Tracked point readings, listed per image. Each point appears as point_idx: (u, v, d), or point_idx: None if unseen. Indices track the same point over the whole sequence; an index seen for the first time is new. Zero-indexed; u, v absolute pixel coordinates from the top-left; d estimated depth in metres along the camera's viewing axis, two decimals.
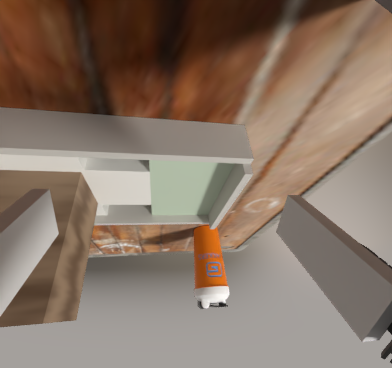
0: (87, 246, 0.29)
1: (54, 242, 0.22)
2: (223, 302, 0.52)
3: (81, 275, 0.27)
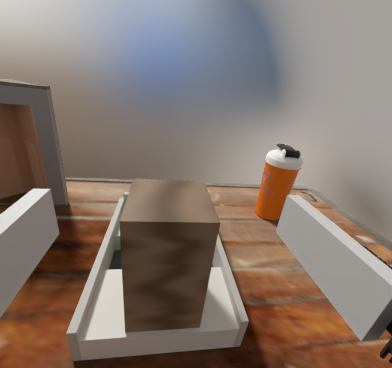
0: None
1: None
2: (279, 148, 0.55)
3: None
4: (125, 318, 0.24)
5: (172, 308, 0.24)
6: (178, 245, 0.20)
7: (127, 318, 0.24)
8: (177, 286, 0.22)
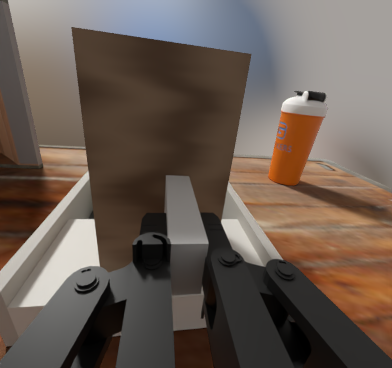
0: None
1: None
2: (297, 95, 0.46)
3: None
4: (99, 249, 0.15)
5: None
6: (180, 100, 0.12)
7: (103, 248, 0.15)
8: None
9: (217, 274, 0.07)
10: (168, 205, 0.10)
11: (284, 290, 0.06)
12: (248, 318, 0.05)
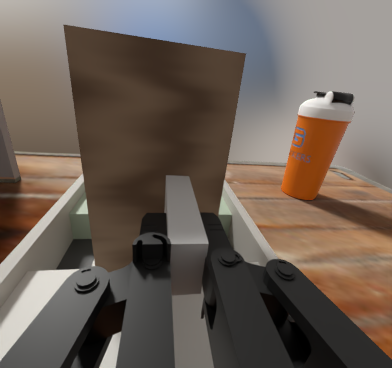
0: None
1: None
2: (317, 97, 0.40)
3: None
4: (95, 251, 0.15)
5: None
6: (176, 99, 0.12)
7: (99, 250, 0.15)
8: None
9: (217, 274, 0.07)
10: (168, 205, 0.10)
11: (284, 290, 0.06)
12: (248, 318, 0.05)
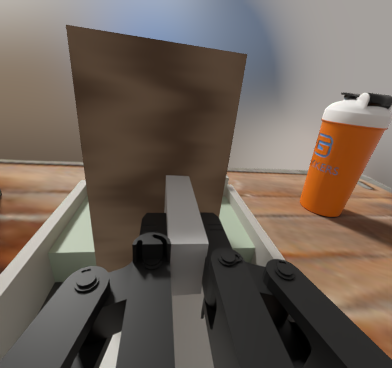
0: None
1: None
2: (344, 99, 0.34)
3: None
4: (96, 252, 0.15)
5: None
6: (178, 100, 0.12)
7: (100, 251, 0.15)
8: None
9: (217, 274, 0.07)
10: (168, 205, 0.10)
11: (284, 290, 0.06)
12: (248, 318, 0.05)
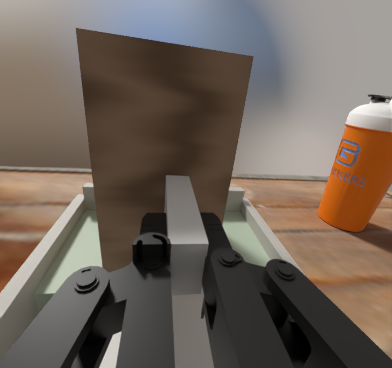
0: None
1: None
2: (372, 101, 0.31)
3: None
4: (102, 252, 0.15)
5: None
6: (184, 102, 0.12)
7: (106, 251, 0.15)
8: None
9: (217, 274, 0.07)
10: (168, 205, 0.10)
11: (284, 290, 0.06)
12: (248, 318, 0.05)
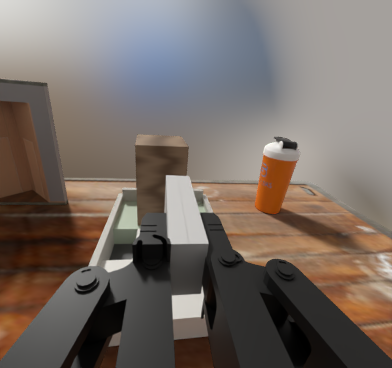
0: None
1: None
2: (276, 140, 0.56)
3: None
4: (137, 213, 0.40)
5: None
6: (166, 161, 0.37)
7: (139, 213, 0.40)
8: None
9: (217, 274, 0.07)
10: (168, 205, 0.10)
11: (284, 290, 0.06)
12: (248, 318, 0.05)
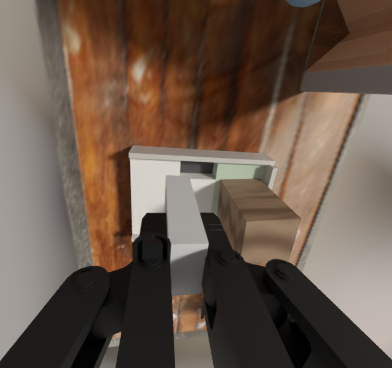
0: None
1: (274, 197, 0.39)
2: None
3: None
4: (223, 185, 0.44)
5: (223, 209, 0.45)
6: (236, 237, 0.36)
7: (223, 186, 0.44)
8: (227, 220, 0.42)
9: (217, 274, 0.07)
10: (168, 205, 0.10)
11: (284, 290, 0.06)
12: (248, 318, 0.05)
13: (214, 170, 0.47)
